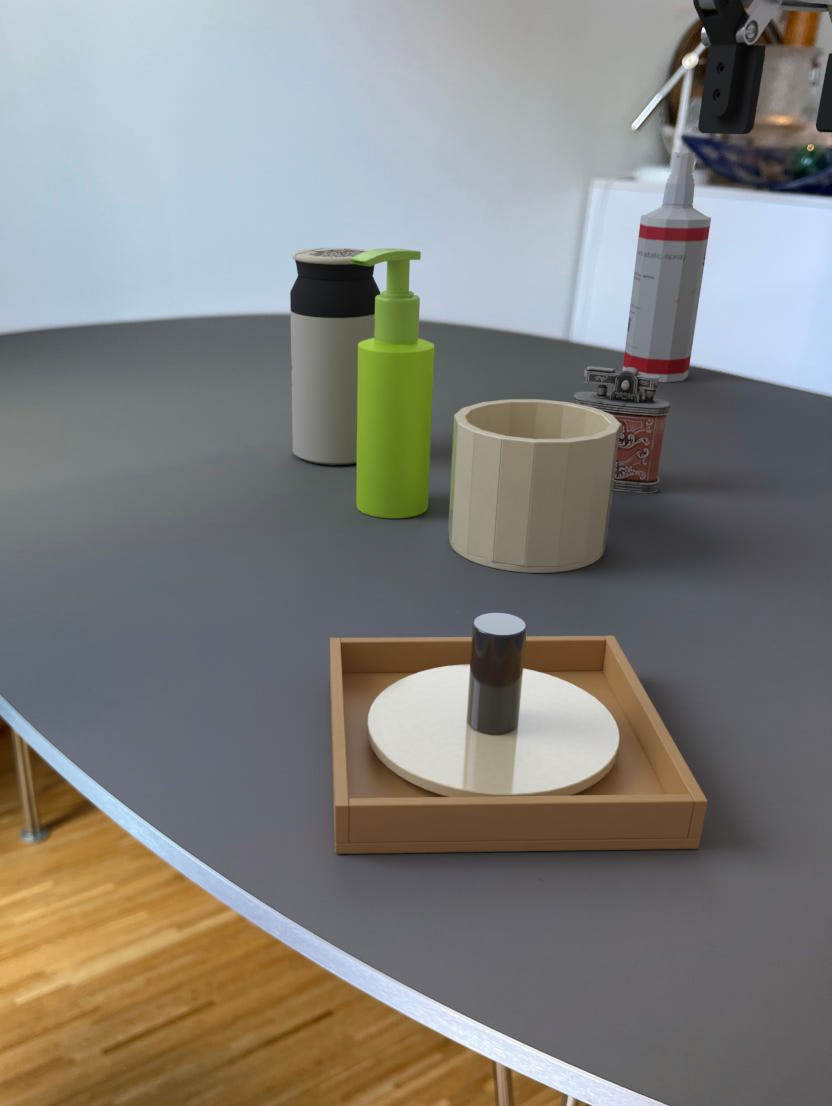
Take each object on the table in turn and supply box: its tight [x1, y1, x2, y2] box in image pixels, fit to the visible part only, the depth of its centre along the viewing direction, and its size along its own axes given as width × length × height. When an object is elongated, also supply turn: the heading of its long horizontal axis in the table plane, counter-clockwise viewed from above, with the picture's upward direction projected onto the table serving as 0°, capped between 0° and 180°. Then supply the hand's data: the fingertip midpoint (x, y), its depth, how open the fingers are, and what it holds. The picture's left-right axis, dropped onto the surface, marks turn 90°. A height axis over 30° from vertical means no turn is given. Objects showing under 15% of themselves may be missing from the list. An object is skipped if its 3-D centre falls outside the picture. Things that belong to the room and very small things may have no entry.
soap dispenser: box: [350, 248, 435, 519], centre depth 83 cm, size 6×7×20 cm
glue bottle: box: [622, 151, 712, 383], centre depth 126 cm, size 8×8×25 cm
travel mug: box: [289, 247, 382, 466], centre depth 97 cm, size 8×8×18 cm
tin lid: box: [367, 612, 620, 797], centre depth 53 cm, size 13×13×7 cm
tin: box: [447, 398, 621, 574], centre depth 78 cm, size 12×12×10 cm
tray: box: [329, 635, 709, 855], centre depth 54 cm, size 16×16×3 cm
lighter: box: [572, 365, 671, 494], centre depth 91 cm, size 8×3×10 cm, turn 65°
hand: (785, 132), depth 58 cm, fingers open, 9 cm apart
